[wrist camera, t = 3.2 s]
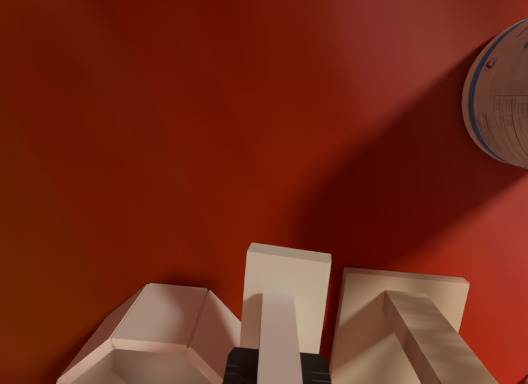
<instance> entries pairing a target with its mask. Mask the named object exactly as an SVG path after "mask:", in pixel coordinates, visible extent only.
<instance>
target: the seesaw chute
mask: <svg viewBox="0 0 528 384" xmlns="http://www.w3.org/2000/svg"><path fill="white" fill-rule="evenodd" d="M330 269H331V254H328V253H321V252H314V251H307V250H300V249H293V248H286V247H279V246H272V245H265V244H258V243H252V244H251V245H250V247H249V249H248V251H247V260H246V272H245V284H244V297H243V309H242V321H241V334H240V346H239V347H241V348H251V349H258V341H259V331H260V320H261V309H262V298H263V292H270V293H280V294H291V295H294V302H295V312H296V322H297V332H298V342H299V351H300V352H303V353H314V354H319V349H320V341H321V334H322V327H323V320H324V312H325V305H326V298H327V291H328V283H329V276H330Z"/></svg>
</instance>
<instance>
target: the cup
mask: <svg viewBox="0 0 528 384" xmlns="http://www.w3.org/2000/svg"><path fill="white" fill-rule="evenodd" d="M240 334H241V322H240V321H239V320H238V319H237V318H236V317H235V316H234V314H233V313H232V312H231V311H230V310H229V309H228V308H227V307H226V306H225V305H224V304H223V303H222V302H221V301H220V300H219V299H218V297H217V296H216V295H215V294H214V293H213V292H212V291H211V290H208V291H207V288H199V287H188V286H177V285H166V284H155V283H149V285H148V284H146V285H145V286H144V287H143V288H141V289H140V290H139V291H138V292H137V293H135V294H134V295H133V296H132V297H130V298H129V299H128V300H127V301H126V302H124V303H123V304H122V305H121V306H119V307H118V308H117V309H116V310H114V311H113V312H112V313H111V314H110V315H108V316H107V317H106V319H105V320H104V321H103V322H102V324H101V325H100V326H99V327H98V329H97V330H96V331H95V332H94V334H93V335H92V336H91V338H90V339H89V340H88V341H87V343H86V344H85V345H84V346H83V348H82V349H81V350H80V352H79V353H78V354H77V355H76V357H75V358H74V359H73V360H72V362H71V363H70V364H69V366H68V367H67V368H66V369H65V371H64V372H63V373H62V374H61V376H60V377H59V378H58V379H57V380H58V381H57V382H56V384H222V383H223V379H224V374H225V368H226V363H227V358H228V354H229V353H230V352H231V351H232V350H233V348H234V347H239V346H240Z"/></svg>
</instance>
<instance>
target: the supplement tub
mask: <svg viewBox="0 0 528 384" xmlns="http://www.w3.org/2000/svg"><path fill="white" fill-rule="evenodd" d="M462 114H463V119H464V123H465V125H466V128H467V130H468V133H469V134H470V136H471V138H472V139H473V141H474V142H475V143H476V144H477V145H478V147H479V148H480V149H482V150H483V151H484V152H485V153H487V154H488V155H489V156H491V157H493V158H495V159H496V160H498V161H501V162H503V163H507V164H510V165H514V166H517V167H521V168H525V169H528V19H525V20H522V21H520V22H518V23H516V24H514V25H512V26H510V27H509V28H507V29H505V30H504V31H502V32H501V33H500V34H498V35H497V36H496V37H495V38H494V39H493V40H492V41H490V42H489V43H488V44H487V46H486V47H485V48H484V49H483V50H482V51H481V53H480V54H479V55H478V57H477V58H476V60H475V61H474V63H473V64H472V66H471V68H470V70H469V72H468V75H467V77H466V80H465V83H464V88H463V93H462Z"/></svg>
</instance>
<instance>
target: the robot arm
mask: <svg viewBox="0 0 528 384" xmlns="http://www.w3.org/2000/svg"><path fill="white" fill-rule="evenodd" d="M222 384H332V383H331V377H330V372H329V367H328V363H327V362H326V360H325V359H324V358H323V356H322V355H321V354H314V353H303V352H300V351H299V342H298V332H297V322H296V312H295V302H294V295H291V294H280V293H270V292H263V298H262V309H261V320H260V331H259V341H258V349H251V348H241V347H234V348H233V350H232V351H231V352H230V353H229V354H228V358H227V363H226V368H225V374H224V379H223V383H222Z"/></svg>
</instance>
